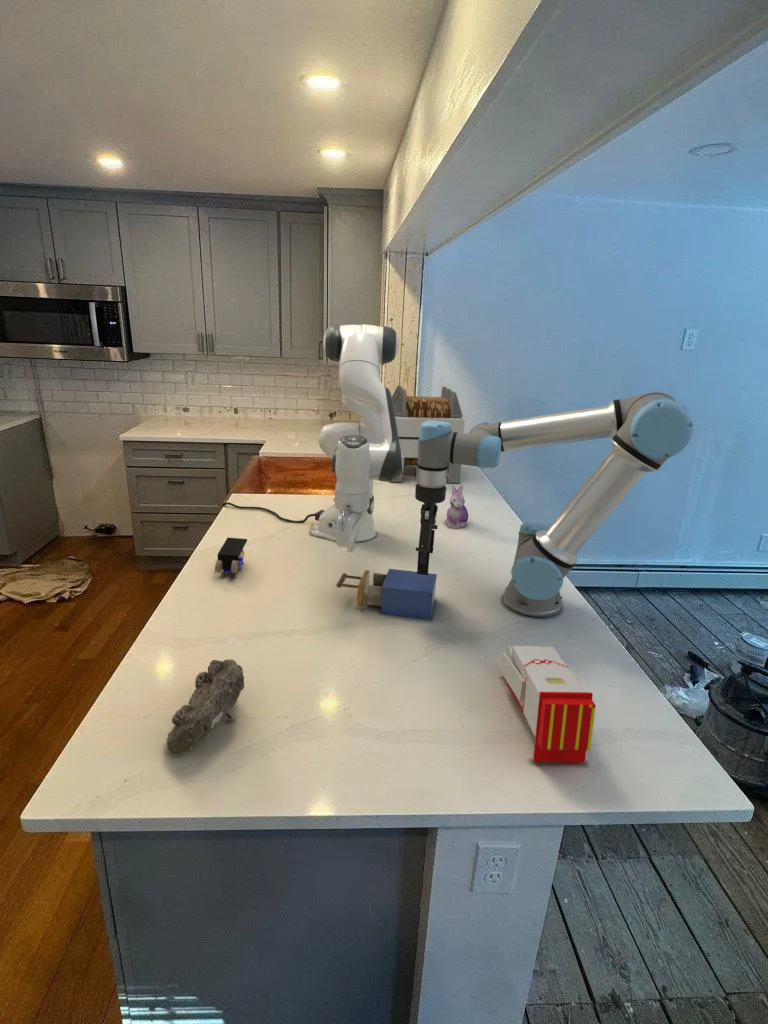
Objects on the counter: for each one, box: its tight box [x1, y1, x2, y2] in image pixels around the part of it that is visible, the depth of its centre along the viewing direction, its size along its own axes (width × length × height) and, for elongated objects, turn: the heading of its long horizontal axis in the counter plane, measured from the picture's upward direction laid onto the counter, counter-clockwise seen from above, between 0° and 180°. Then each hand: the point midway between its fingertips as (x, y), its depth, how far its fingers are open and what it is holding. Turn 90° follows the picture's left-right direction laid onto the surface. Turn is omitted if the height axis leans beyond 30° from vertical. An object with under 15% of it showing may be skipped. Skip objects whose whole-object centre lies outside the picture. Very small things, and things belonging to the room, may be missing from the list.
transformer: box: [391, 384, 465, 484], centre depth 268 cm, size 34×33×41 cm
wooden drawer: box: [336, 569, 387, 607], centre depth 152 cm, size 18×10×6 cm, turn 80°
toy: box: [499, 645, 597, 764], centre depth 112 cm, size 12×13×30 cm
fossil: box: [166, 658, 245, 754], centre depth 106 cm, size 22×10×15 cm
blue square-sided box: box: [380, 568, 438, 620], centre depth 150 cm, size 13×11×8 cm
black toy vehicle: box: [214, 537, 248, 578], centre depth 166 cm, size 7×8×15 cm
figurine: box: [445, 484, 469, 529], centre depth 209 cm, size 9×10×15 cm
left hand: (350, 550), depth 149 cm, fingers closed
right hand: (425, 562), depth 147 cm, fingers open, 13 cm apart
